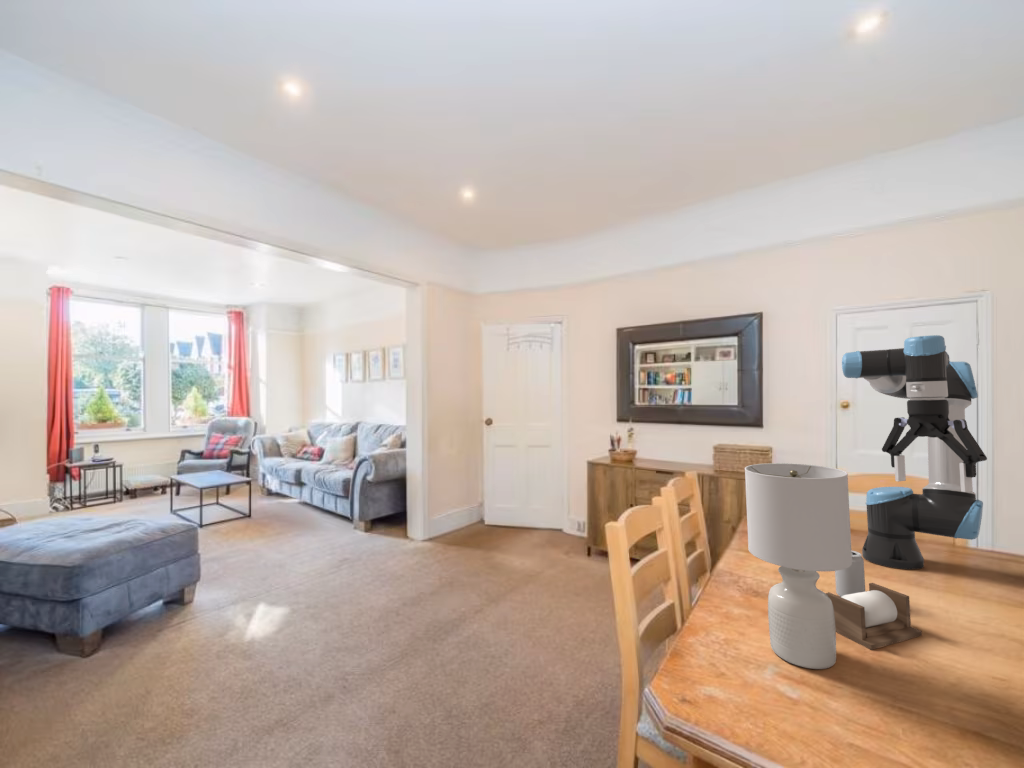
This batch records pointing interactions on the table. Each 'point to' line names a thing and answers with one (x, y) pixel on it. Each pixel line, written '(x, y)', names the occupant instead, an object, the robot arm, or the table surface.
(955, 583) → the table surface
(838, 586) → the beverage can
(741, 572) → the table surface
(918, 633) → the holder
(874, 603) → the cylinder
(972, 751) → the table surface
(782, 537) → the lamp
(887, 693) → the table surface
